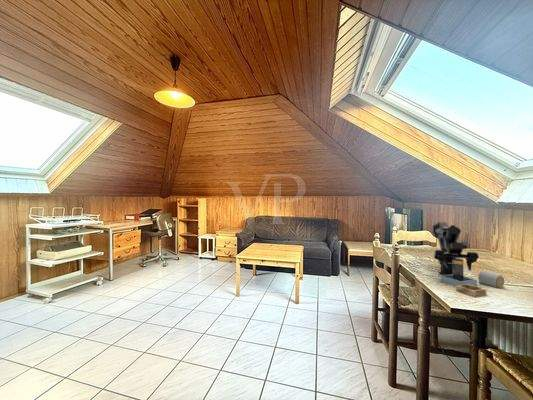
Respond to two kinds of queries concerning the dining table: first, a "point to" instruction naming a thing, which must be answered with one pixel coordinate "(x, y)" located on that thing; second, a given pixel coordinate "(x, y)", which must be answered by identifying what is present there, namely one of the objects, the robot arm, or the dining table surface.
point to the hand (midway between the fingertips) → (459, 269)
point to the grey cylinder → (491, 279)
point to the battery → (458, 269)
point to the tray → (454, 282)
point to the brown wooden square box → (471, 290)
